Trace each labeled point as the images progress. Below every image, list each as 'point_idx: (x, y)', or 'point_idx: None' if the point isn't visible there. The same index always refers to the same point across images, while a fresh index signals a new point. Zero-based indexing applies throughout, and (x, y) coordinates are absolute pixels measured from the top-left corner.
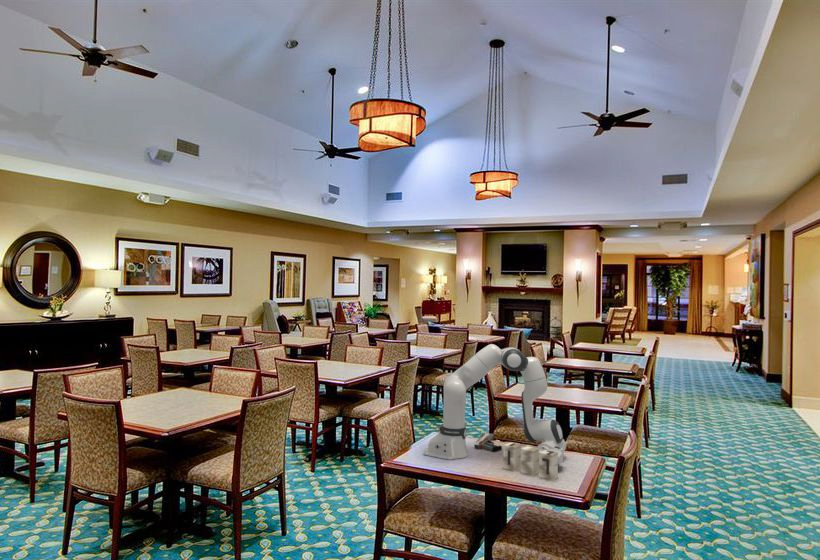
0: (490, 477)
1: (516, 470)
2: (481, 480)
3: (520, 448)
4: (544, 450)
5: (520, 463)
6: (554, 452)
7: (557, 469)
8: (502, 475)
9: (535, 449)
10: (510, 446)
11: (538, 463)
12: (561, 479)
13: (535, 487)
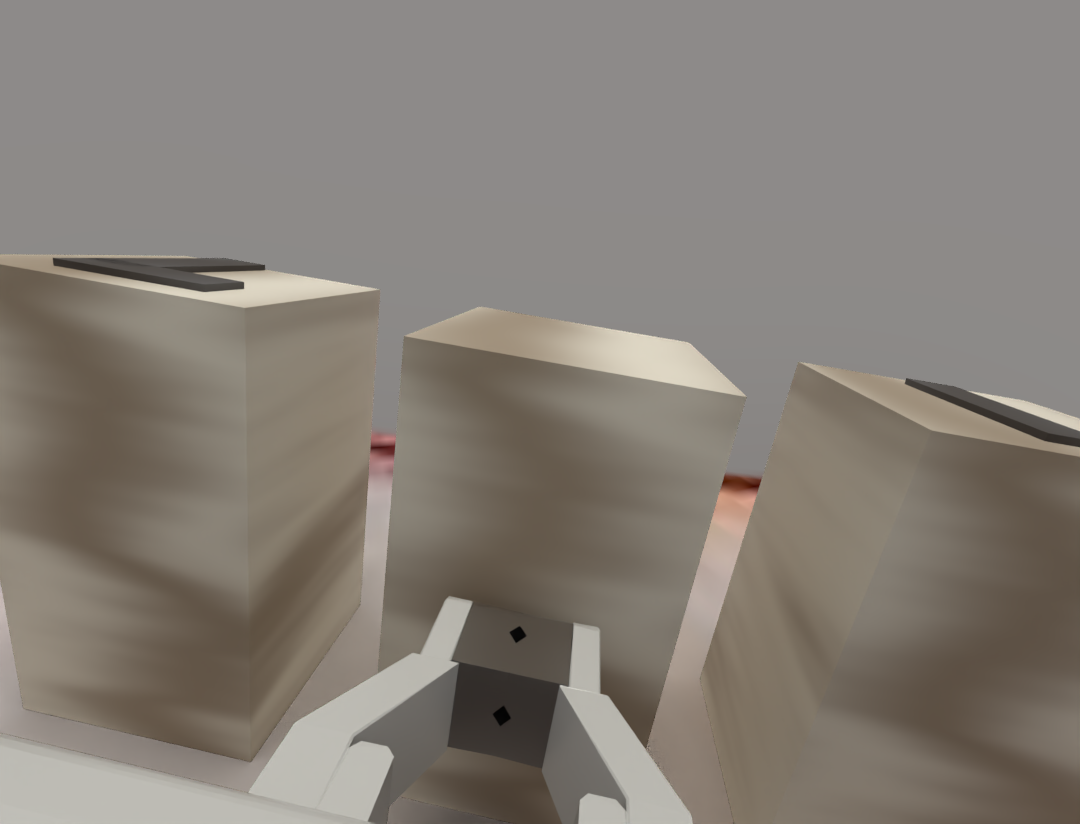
0: (737, 512)
1: (709, 709)
2: (731, 476)
3: (880, 504)
4: (271, 299)
5: (771, 782)
6: (51, 263)
7: (12, 585)
8: (708, 557)
9: (466, 323)
10: (889, 377)
11: (387, 629)
12: (3, 644)
13: (387, 459)
